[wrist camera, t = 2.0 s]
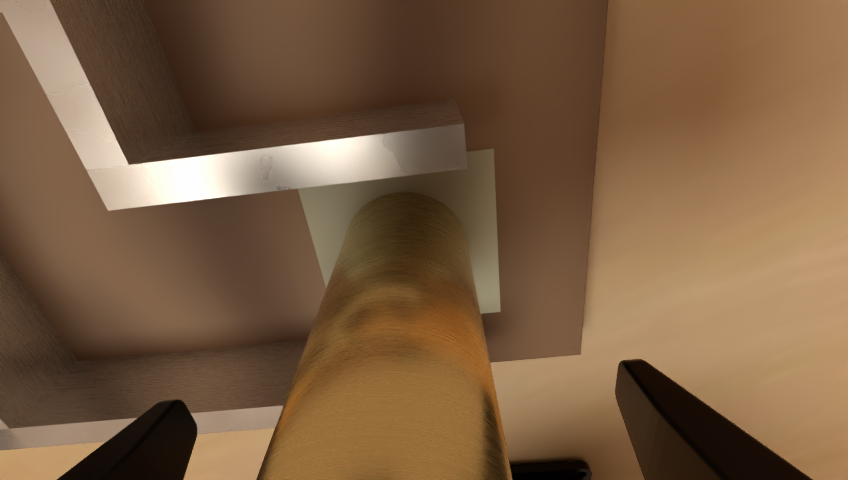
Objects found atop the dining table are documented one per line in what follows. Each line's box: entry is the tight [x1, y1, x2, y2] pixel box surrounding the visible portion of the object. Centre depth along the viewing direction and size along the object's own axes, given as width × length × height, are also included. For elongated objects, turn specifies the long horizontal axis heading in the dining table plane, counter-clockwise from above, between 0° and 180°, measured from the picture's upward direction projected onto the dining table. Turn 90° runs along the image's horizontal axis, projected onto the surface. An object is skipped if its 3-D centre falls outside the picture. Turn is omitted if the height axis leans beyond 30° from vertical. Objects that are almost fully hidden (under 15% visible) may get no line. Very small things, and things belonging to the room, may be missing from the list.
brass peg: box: [256, 192, 512, 480], centre depth 9 cm, size 4×4×10 cm
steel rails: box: [0, 0, 467, 450], centre depth 10 cm, size 16×18×3 cm
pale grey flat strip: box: [0, 0, 608, 362], centre depth 12 cm, size 22×20×1 cm
